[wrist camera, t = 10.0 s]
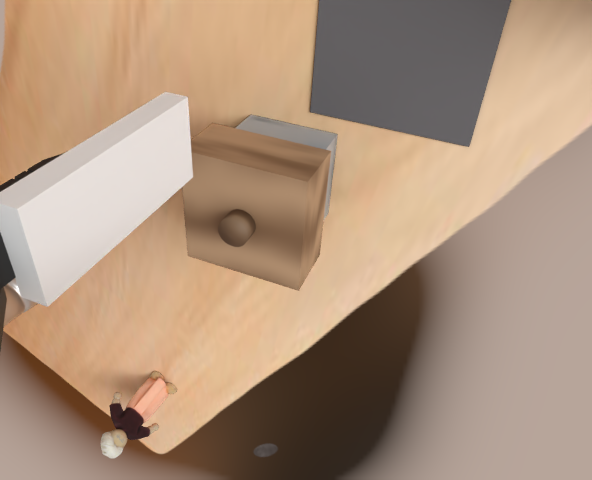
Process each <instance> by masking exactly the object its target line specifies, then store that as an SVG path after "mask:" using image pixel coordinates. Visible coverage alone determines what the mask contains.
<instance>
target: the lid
mask: <svg viewBox="0 0 592 480" xmlns="http://www.w3.org/2000/svg"><path fill="white" fill-rule="evenodd" d="M191 153H192V168H193V178H192V179H191V180H189V181H188V182H187V183H186V184H185V185H184V186H183V187H182V189H183V202H184V214H185V226H186V238H187V251H188V256H190V257H193V258H196V259H199V260H202V261H206V262H209V263H212V264H215V265H218V266H222V267H225V268H228V269H231V270H234V271H238V272H241V273H244V274H247V275H250V276H253V277H257V278H260V279H263V280H266V281H269V282H273V283H276V284H279V285H282V286H285V287H289V288H292V289H295V290H298V291H299V289H300V287H301V286H302V284H303V282H304V281H305V279H306V277H307V275H308V274H309V272H310V270H311V269H312V267H313V265H314V264H315V262H316V260H317V258H318V257H319V255H320V247H321V238H322V229H323V220H324V211H325V202H326V193H327V184H328V175H329V167H330V158H331V151H329V150H325V149H321V148H316V147H312V146H308V145H304V144H300V143H295V142H291V141H287V140H283V139H278V138H274V137H270V136H266V135H261V134H257V133H253V132H249V131H245V130H240V129H236V128H232V127H228V126H223V125H219V124H215V123H212V124H211V125H209V126H208V127H207V128H206V129H204V130H203V131H202V132H200V133H199V134H198V135H197V136H195V137H194V138H193V139H191Z"/></svg>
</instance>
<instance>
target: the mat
mask: <svg viewBox="0 0 592 480" xmlns="http://www.w3.org/2000/svg"><path fill="white" fill-rule="evenodd" d="M510 3H511V0H319V10H318V22H317V35H316V47H315V59H314V71H313V84H312V96H311V108H310V112H312V113H317V114H321V115H326V116H330V117H335V118H340V119H344V120H349V121H353V122H358V123H362V124H367V125H372V126H376V127H381V128H385V129H390V130H394V131H399V132H404V133H408V134H413V135H417V136H422V137H426V138H431V139H436V140H440V141H445V142H449V143H454V144H458V145H463V146H468V147H469V146H470V142H471V139H472V135H473V132H474V128H475V125H476V121H477V118H478V114H479V111H480V107H481V104H482V100H483V97H484V93H485V90H486V86H487V83H488V79H489V76H490V72H491V69H492V65H493V62H494V58H495V55H496V51H497V48H498V44H499V41H500V37H501V34H502V30H503V27H504V23H505V20H506V16H507V13H508V9H509V6H510Z"/></svg>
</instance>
